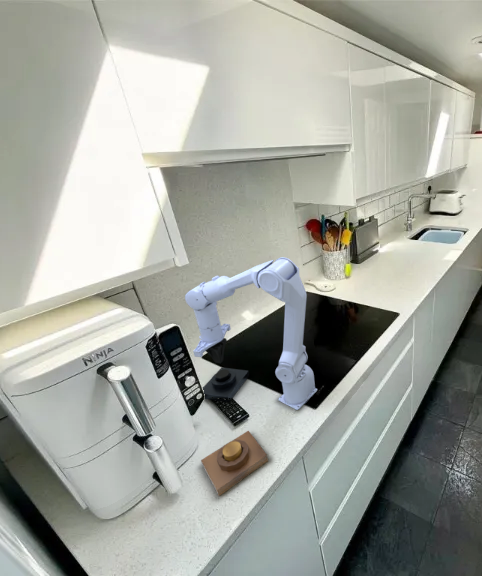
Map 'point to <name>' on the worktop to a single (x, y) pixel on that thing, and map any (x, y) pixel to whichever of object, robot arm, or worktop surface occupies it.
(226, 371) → the black button
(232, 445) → the brass button
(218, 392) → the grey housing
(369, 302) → the worktop surface
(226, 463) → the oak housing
